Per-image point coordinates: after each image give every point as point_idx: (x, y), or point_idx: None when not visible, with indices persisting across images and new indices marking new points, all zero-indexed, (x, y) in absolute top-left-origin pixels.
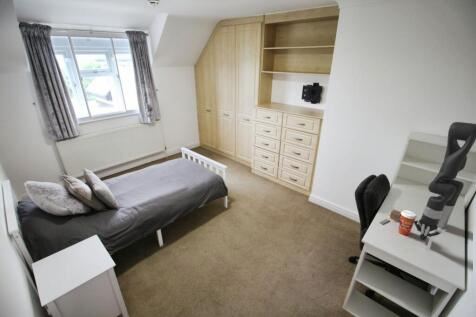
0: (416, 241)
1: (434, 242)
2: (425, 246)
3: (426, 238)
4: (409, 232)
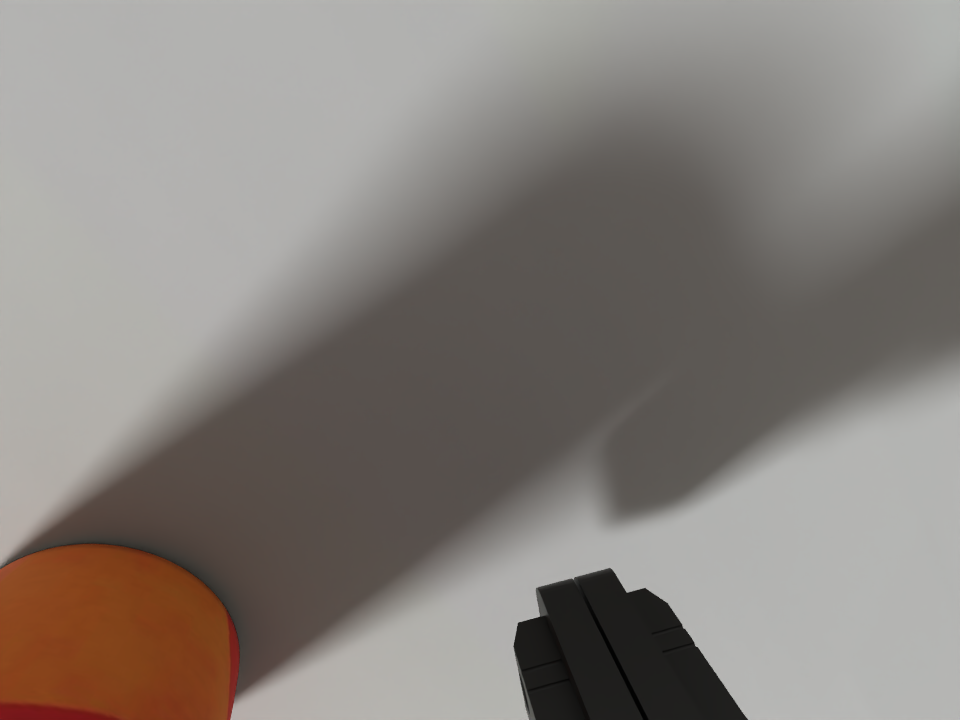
0: (480, 614)
1: (669, 202)
2: (662, 564)
3: (684, 637)
4: (219, 715)
